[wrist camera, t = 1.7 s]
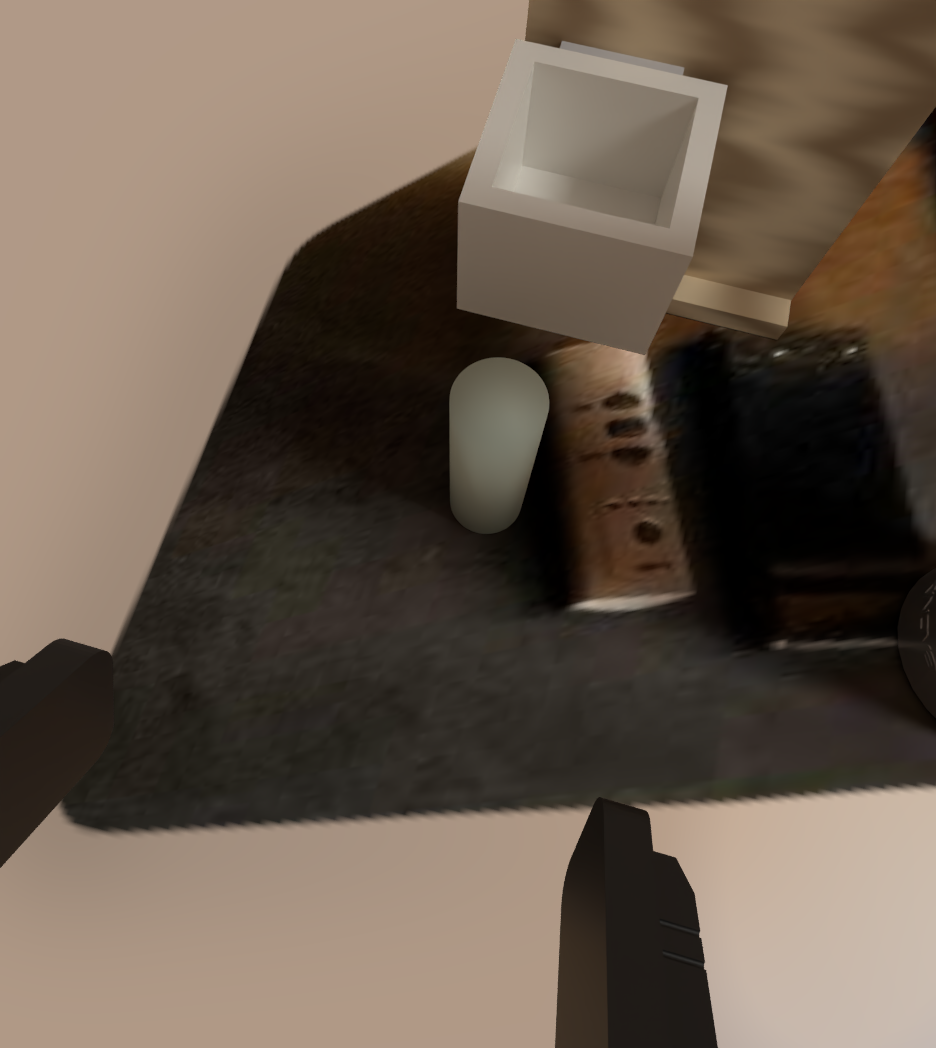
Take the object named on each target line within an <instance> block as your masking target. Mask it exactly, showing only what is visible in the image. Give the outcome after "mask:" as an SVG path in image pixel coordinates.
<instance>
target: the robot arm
mask: <svg viewBox="0 0 936 1048" xmlns="http://www.w3.org/2000/svg"><path fill="white" fill-rule="evenodd" d="M897 629H898V649H899V653H900V657H901V661H902V665H903V669H904V671H905V673H906V675H907V678H908V680H909V682H910V684H911V686H912V688H913V690H914V692H915V693H916V695H917V696H918V698H919V699H920V700H921V702H922V703H923V705H924V706H925V708H926V709H927V710H928V711H929V712H930V713H931V714H932V715H933V716H934V717H935V718H936V568H934V569H933V570H931V571H930V572H928V573H927V574H926V575H924V576H923V577H922V578H920V579H919V580H918V581H917V583H916V584H915V585H914V586H913V588H912V589H911V590H910V591H909V592H908V595H907V597H906V599H905V601H904V603H903V606H902V608H901V611H900V617H899V622H898V628H897ZM113 726H114V696H113V661H112V656H111V655H110V653H109V652H107V651H104V650H101V649H97V648H94V647H91V646H87V645H84V644H80V643H77V642H73V641H70V640H66V639H58V640H55V641H53V642H52V643H50V644H49V645H47V646H46V647H45V648H44V649H42V650H41V651H40V652H39V653H37V654H36V655H35V656H34V657H32V658H31V659H30V660H28V661H27V662H26V663H22V662H18V661H12V662H10V663H7V664H5V665H3V666H0V868H1V867H2V866H3V864H4V863H5V862H6V861H7V860H8V859H9V858H10V857H11V855H12V854H13V853H14V852H15V851H16V850H17V849H18V848H19V847H20V846H21V844H22V843H23V842H24V841H25V840H26V839H27V838H28V837H29V836H30V834H31V833H32V832H33V831H34V830H35V829H36V828H37V827H38V825H40V823H41V822H42V821H43V820H44V819H45V818H46V817H47V816H48V814H49V813H50V812H51V811H52V810H53V809H54V808H55V807H56V806H57V805H58V803H59V802H60V801H61V800H62V799H63V798H64V797H65V796H66V795H67V794H68V792H69V791H70V790H71V789H72V788H73V787H74V786H75V785H76V784H77V782H78V781H79V780H80V779H81V778H82V777H83V776H84V775H85V774H86V772H87V771H88V770H89V769H90V768H91V767H92V766H93V765H94V764H95V762H96V761H97V760H98V759H99V757H100V756H101V755H102V753H103V751H104V750H105V748H106V746H107V744H108V742H109V740H110V737H111V734H112V731H113ZM699 932H700V927H699V920H698V914H697V907H696V901H695V894H694V892H693V890H692V888H691V886H690V884H689V882H688V880H687V878H686V876H685V874H684V872H683V871H682V869H681V867H680V865H679V863H678V861H677V859H676V858H675V857H672V856H668V855H665V854H661V853H658V852H655V851H653V845H652V835H651V825H650V818H649V814H648V812H647V811H645V810H642V809H638V808H635V807H632V806H628V805H625V804H621V803H618V802H614V801H611V800H608V799H604V798H601V797H599V798H598V799H597V800H596V801H595V803H594V805H593V808H592V810H591V812H590V815H589V817H588V819H587V822H586V824H585V826H584V829H583V831H582V834H581V836H580V838H579V841H578V843H577V845H576V848H575V850H574V852H573V855H572V857H571V859H570V862H569V865H568V869H567V872H566V877H565V881H564V887H563V894H562V905H561V926H560V949H559V971H558V973H559V974H558V995H557V1017H556V1040H555V1048H718V1047H717V1040H716V1033H715V1027H714V1020H713V1013H712V1007H711V1000H710V993H709V987H708V980H707V973H706V970H704V963H705V960H704V954H703V947H702V940H701V938H699Z"/></svg>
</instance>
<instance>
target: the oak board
mask: <svg viewBox="0 0 936 1048" xmlns="http://www.w3.org/2000/svg"><path fill="white" fill-rule="evenodd" d="M525 41H528V42H533V43H537V44H542V45H546V46H551V47H555V48H560V46H561V43H562V41H566V42H570V43H575V44H579V45H584V46H588V47H593V48H598V49H602V50H607V51H611V52H616V53H620V54H625V55H630V56H634V57H639V58H643V59H648V60H652V61H657V62H662V63H666V64H671V65H675V66H680V67H684V72H683V76H687V77H692V78H697V79H701V80H706V81H710V82H715V83H719V84H724V85H728V87H727V91H726V96H725V101H724V106H723V111H722V116H721V121H720V126H719V131H718V136H717V141H716V145H715V150H714V155H713V160H712V165H711V170H710V175H709V180H708V185H707V190H706V195H705V199H704V204H703V209H702V214H701V219H700V224H699V229H698V234H697V239H696V244H695V249H694V253H693V258H692V260H691V262H690V264H689V266H688V268H687V270H686V272H685V274H684V276H683V278H682V280H681V282H680V284H679V286H678V288H677V291H676V293H675V295H674V297H673V299H672V301H671V303H670V305H669V307H668V309H667V311H666V313H669V314H673V315H677V316H681V317H685V318H689V319H693V320H697V321H702V322H706V323H710V324H714V325H718V326H722V327H726V328H730V329H735V330H739V331H743V332H747V333H751V334H755V335H759V336H763V337H767V338H772V339H776V340H777V339H778V338H779V337H780V335H781V334H782V333H783V331H784V330H785V329H786V328H787V325H788V317H789V310H790V303H791V300H792V298H793V297H794V296H795V294H796V293H797V292H798V290H799V289H800V288H801V286H802V285H803V283H804V282H805V281H806V279H807V278H808V277H809V275H810V274H811V273H812V271H813V270H814V269H815V267H816V266H817V265H818V263H819V262H820V261H821V259H822V258H823V257H824V255H825V254H826V253H827V251H828V250H829V249H830V247H831V246H832V245H833V243H834V242H835V241H836V239H837V238H838V237H839V235H840V234H841V233H842V231H843V230H844V229H845V227H846V226H847V225H848V223H849V222H850V221H851V219H852V218H853V217H854V215H855V214H856V213H857V211H858V210H859V209H860V207H861V206H862V204H863V203H864V202H865V200H866V199H867V198H868V196H869V195H870V194H871V192H872V191H873V190H874V188H875V187H876V186H877V184H878V183H879V182H880V180H881V179H882V178H883V176H884V175H885V174H886V172H887V171H888V170H889V168H890V167H891V166H892V164H893V163H894V162H895V160H896V159H897V158H898V156H899V155H900V154H901V152H902V151H903V150H904V148H905V147H906V146H907V144H908V143H909V142H910V140H911V139H912V138H913V136H914V135H915V134H916V132H917V131H918V129H919V128H920V127H921V125H922V124H923V123H924V121H925V120H926V119H927V117H928V116H929V115H930V113H931V112H932V111H933V109H934V108H935V107H936V0H529V8H528V19H527V28H526V38H525Z"/></svg>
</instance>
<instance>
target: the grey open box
mask: <svg viewBox="0 0 936 1048" xmlns="http://www.w3.org/2000/svg"><path fill="white" fill-rule="evenodd" d="M683 72H684V67H680V66H675V65H671V64H666V63H662V62H657V61H652V60H648V59H643V58H639V57H634V56H630V55H625V54H620V53H616V52H611V51H607V50H602V49H598V48H593V47H588V46H584V45H579V44H575V43H570V42H566V41H562V43H561V46H560V48H555V47H551V46H546V45H542V44H537V43H533V42H528V41H523V40H518V39H516V40H515V43H514V46H513V49H512V52H511V55H510V57H509V60H508V63H507V66H506V69H505V71H504V75H503V77H502V80H501V83H500V85H499V88H498V91H497V94H496V97H495V100H494V102H493V105H492V108H491V111H490V114H489V117H488V119H487V122H486V125H485V128H484V130H483V133H482V136H481V139H480V142H479V144H478V147H477V150H476V153H475V156H474V159H473V161H472V164H471V167H470V170H469V173H468V175H467V178H466V181H465V184H464V187H463V189H462V192H461V195H460V198H459V201H458V259H457V309H461V310H465V311H469V312H473V313H477V314H481V315H485V316H489V317H493V318H497V319H501V320H505V321H509V322H513V323H517V324H521V325H525V326H530V327H534V328H538V329H542V330H546V331H550V332H554V333H558V334H562V335H566V336H570V337H574V338H578V339H582V340H586V341H590V342H594V343H598V344H602V345H606V346H610V347H614V348H618V349H622V350H627V351H631V352H635V353H639V354H643V355H645V354H646V352H647V350H648V348H649V346H650V344H651V342H652V340H653V338H654V336H655V334H656V332H657V330H658V328H659V326H660V324H661V321H662V319H663V317H664V315H665V313H666V311H667V309H668V307H669V305H670V303H671V301H672V299H673V297H674V295H675V293H676V291H677V288H678V286H679V284H680V282H681V280H682V278H683V276H684V274H685V272H686V270H687V268H688V266H689V264H690V262H691V260H692V258H693V253H694V249H695V244H696V239H697V234H698V229H699V224H700V219H701V214H702V209H703V204H704V199H705V195H706V190H707V185H708V180H709V175H710V170H711V165H712V160H713V155H714V150H715V145H716V141H717V136H718V131H719V126H720V121H721V116H722V111H723V106H724V101H725V96H726V91H727V87H728V85H724V84H719V83H715V82H710V81H706V80H701V79H697V78H692V77H687V76H683Z"/></svg>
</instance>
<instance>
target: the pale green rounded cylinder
mask: <svg viewBox="0 0 936 1048" xmlns="http://www.w3.org/2000/svg"><path fill="white" fill-rule="evenodd" d="M449 406H450V506H451V510H452V513H453V515H454V516H455V518H456V519H457V521H458V522H459V523H460V524H461V525H462V526H464V527H465V528H467V529H468V530H470V531H473V532H476V533H480V534H493V533H497V532H500V531H502V530H505V529H506V528H508V527H509V526H510V525H511V524H512V523H513V522H514V521H515V520H516V518H517V517H518V515H519V513H520V510H521V507H522V503H523V500H524V496H525V493H526V489H527V486H528V482H529V478H530V475H531V471H532V468H533V464H534V461H535V457H536V454H537V450H538V447H539V443H540V440H541V436H542V433H543V429H544V426H545V422H546V419H547V415H548V411H549V395H548V391H547V388H546V386H545V384H544V382H543V381H542V379H541V378H540V376H539V375H538V374H537V373H536V372H535V371H534V370H532V369H531V368H530V367H528V366H527V365H525V364H523V363H521V362H519V361H516V360H513V359H508V358H500V357H498V358H487V359H483V360H480V361H478V362H475V363H473V364H471V365H470V366H468V367H467V368H465V369H464V370H463V371H462V372H461V373H460V374H459V376H458V377H457V378H456V380H455V381H454V383H453V386H452V388H451V392H450V400H449Z"/></svg>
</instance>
